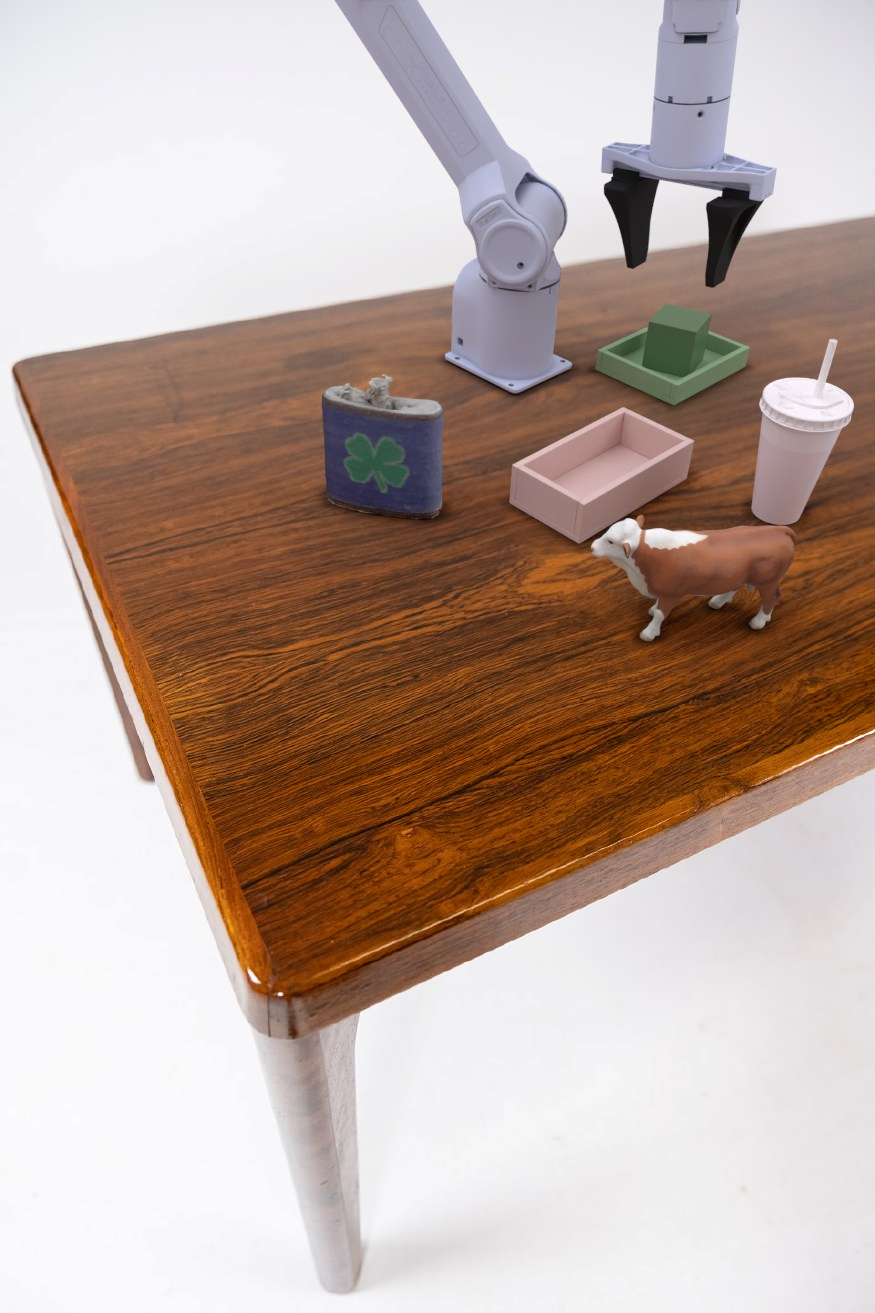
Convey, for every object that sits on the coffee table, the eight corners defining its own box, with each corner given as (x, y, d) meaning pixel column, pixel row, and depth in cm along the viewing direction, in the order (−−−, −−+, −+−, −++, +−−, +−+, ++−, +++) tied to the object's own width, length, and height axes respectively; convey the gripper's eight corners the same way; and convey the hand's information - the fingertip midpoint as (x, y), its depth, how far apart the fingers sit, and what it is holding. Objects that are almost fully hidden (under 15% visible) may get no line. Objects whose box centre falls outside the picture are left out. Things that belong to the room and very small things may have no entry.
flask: (445, 504, 78) (447, 377, 71) (435, 525, 76) (436, 396, 69) (333, 485, 80) (324, 359, 73) (320, 505, 78) (309, 377, 71)
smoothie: (821, 540, 76) (879, 366, 66) (733, 529, 77) (778, 356, 67) (815, 493, 80) (868, 324, 71) (733, 483, 81) (774, 315, 72)
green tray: (594, 369, 95) (597, 349, 94) (667, 334, 101) (671, 315, 100) (673, 405, 90) (677, 385, 89) (745, 366, 96) (750, 346, 95)
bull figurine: (577, 604, 70) (591, 505, 64) (767, 595, 71) (797, 497, 65) (590, 646, 67) (605, 546, 61) (788, 637, 68) (821, 537, 62)
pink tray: (508, 503, 79) (511, 464, 76) (617, 443, 85) (623, 406, 83) (579, 544, 75) (584, 504, 73) (686, 478, 82) (695, 440, 79)
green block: (641, 367, 95) (648, 320, 92) (657, 348, 98) (665, 302, 94) (687, 378, 93) (696, 332, 90) (702, 359, 96) (712, 313, 93)
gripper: (806, 93, 75) (776, 275, 84) (639, 73, 83) (628, 242, 92) (760, 116, 71) (734, 304, 80) (589, 93, 79) (583, 267, 88)
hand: (674, 273), depth 86 cm, fingers open, 7 cm apart
